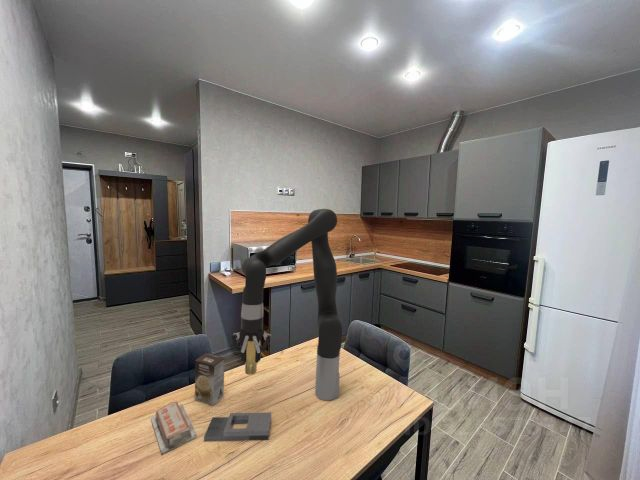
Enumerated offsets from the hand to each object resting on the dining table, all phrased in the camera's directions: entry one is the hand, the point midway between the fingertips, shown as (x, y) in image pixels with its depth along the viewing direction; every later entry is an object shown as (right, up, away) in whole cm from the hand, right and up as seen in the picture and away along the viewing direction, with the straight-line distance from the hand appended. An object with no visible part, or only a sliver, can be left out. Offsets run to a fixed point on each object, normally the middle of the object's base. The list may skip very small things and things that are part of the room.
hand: (251, 361), depth 93 cm
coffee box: (-18, -18, +8) cm, 27 cm away
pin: (0, -4, 0) cm, 4 cm away
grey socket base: (-2, -20, -6) cm, 21 cm away
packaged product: (-24, -20, -7) cm, 32 cm away
